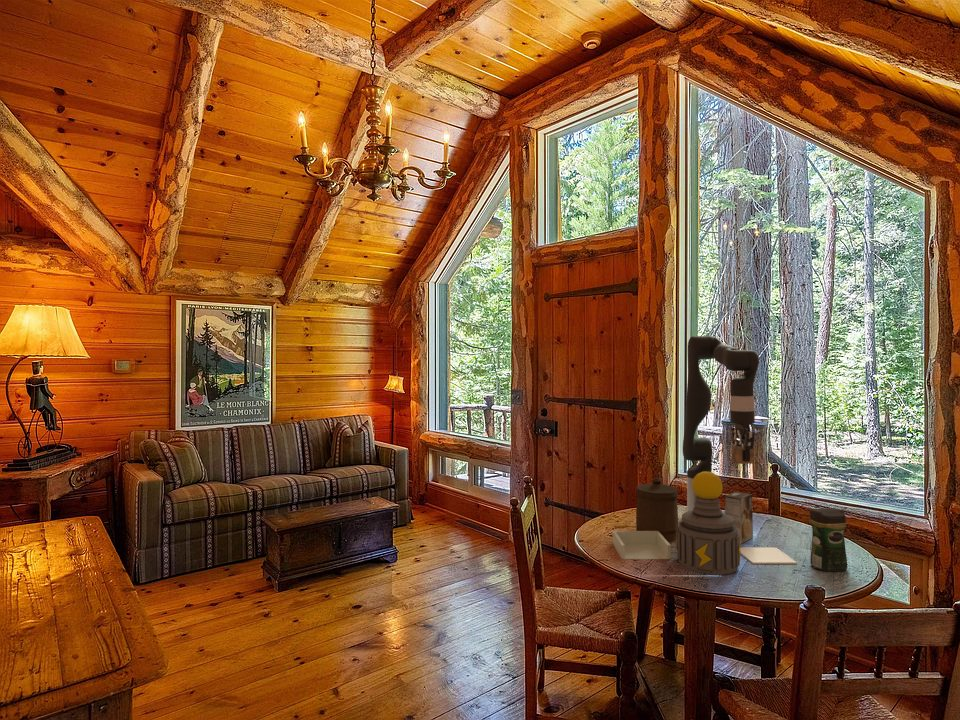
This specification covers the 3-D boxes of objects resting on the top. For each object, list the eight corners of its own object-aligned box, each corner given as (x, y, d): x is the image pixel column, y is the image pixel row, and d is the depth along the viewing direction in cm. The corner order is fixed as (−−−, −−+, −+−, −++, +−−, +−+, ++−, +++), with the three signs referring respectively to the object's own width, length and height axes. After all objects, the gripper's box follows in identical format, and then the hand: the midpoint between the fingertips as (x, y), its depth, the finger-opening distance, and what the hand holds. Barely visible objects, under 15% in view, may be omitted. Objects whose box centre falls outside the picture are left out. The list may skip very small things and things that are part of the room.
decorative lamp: (737, 581, 168) (736, 480, 167) (671, 570, 177) (670, 474, 177) (742, 560, 184) (741, 468, 184) (682, 551, 193) (681, 464, 193)
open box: (612, 544, 201) (612, 530, 201) (658, 544, 200) (658, 530, 200) (621, 560, 186) (621, 545, 186) (670, 560, 185) (670, 545, 185)
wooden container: (672, 531, 215) (672, 473, 215) (682, 544, 201) (682, 482, 201) (633, 530, 217) (632, 473, 217) (640, 543, 202) (639, 482, 202)
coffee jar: (834, 562, 181) (834, 505, 181) (852, 572, 173) (851, 511, 173) (805, 563, 181) (804, 505, 181) (821, 573, 173) (821, 512, 173)
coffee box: (735, 533, 211) (735, 491, 211) (753, 537, 206) (753, 494, 206) (724, 539, 205) (724, 495, 205) (742, 543, 200) (741, 498, 200)
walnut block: (732, 461, 192) (732, 446, 192) (747, 461, 192) (747, 446, 192) (737, 463, 187) (737, 448, 187) (753, 463, 187) (753, 448, 187)
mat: (734, 548, 195) (734, 547, 195) (776, 549, 194) (776, 547, 194) (752, 563, 181) (752, 562, 181) (797, 564, 180) (797, 562, 180)
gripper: (763, 411, 182) (763, 463, 182) (745, 407, 197) (745, 456, 197) (739, 411, 183) (739, 463, 183) (722, 407, 197) (723, 456, 197)
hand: (742, 459), depth 190 cm, fingers closed on walnut block, 5 cm apart
